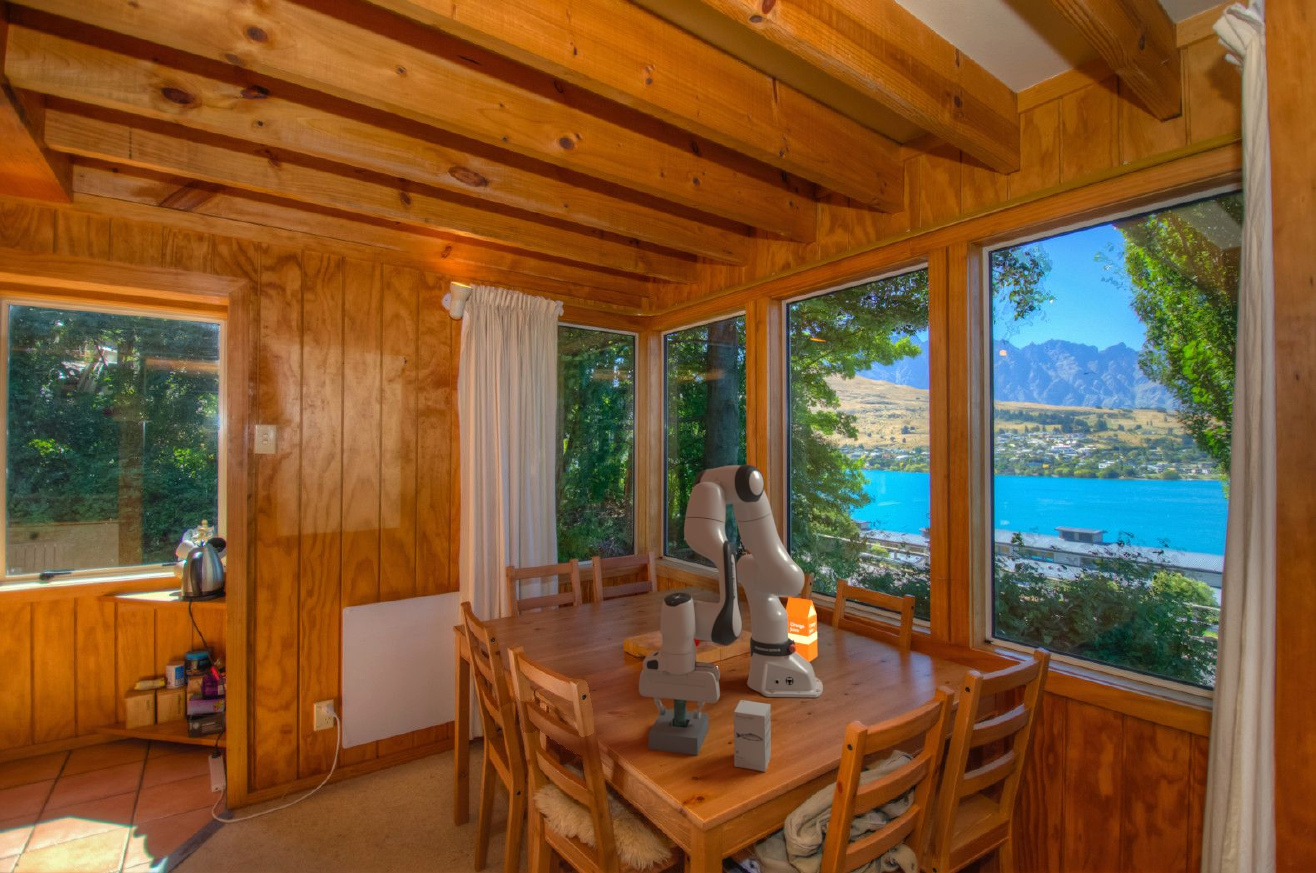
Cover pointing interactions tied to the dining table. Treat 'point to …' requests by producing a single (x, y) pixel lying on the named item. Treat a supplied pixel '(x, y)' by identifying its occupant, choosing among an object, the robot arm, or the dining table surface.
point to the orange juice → (802, 627)
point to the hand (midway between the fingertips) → (679, 716)
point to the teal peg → (680, 713)
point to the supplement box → (752, 735)
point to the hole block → (678, 733)
